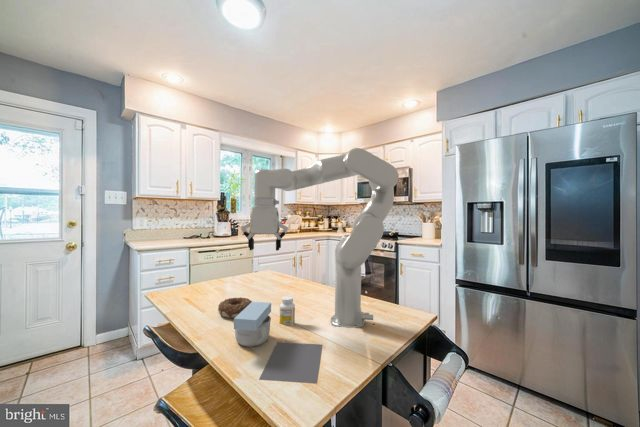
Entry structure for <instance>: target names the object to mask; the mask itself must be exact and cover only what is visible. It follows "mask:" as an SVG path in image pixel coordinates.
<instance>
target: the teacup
mask: <svg viewBox="0 0 640 427" xmlns="http://www.w3.org/2000/svg"><path fill="white" fill-rule="evenodd" d="M271 319H272V317H271V316H270V314H269V315H268V316H267V317H266V319H265V320H264V321H263V323H262V324H261V325H260V326H259V328H258V329H257V330H256V331H252V330H238V329H234V336H235V340H236V342H237V343H238V344H239V345H241V346H243V347H258V346H260V345H262V344H264V343H265V342H266V341H267V340H268V339H269V336H270V330H271Z"/></svg>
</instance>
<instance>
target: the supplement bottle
mask: <svg viewBox="0 0 640 427" xmlns="http://www.w3.org/2000/svg"><path fill="white" fill-rule="evenodd" d="M281 302H282V303H280V304H279V324H280V325H283V326H289V325H290V326H291V325H293V326H294V325H295V324H296V323H295V322H296V321H295V319H296V318H295V313H296V312H295V310H296V307H295V306H296V305H295V303H294V297H293V296H287V295H285V296H282V298H281Z"/></svg>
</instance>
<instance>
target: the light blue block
mask: <svg viewBox="0 0 640 427" xmlns="http://www.w3.org/2000/svg"><path fill="white" fill-rule="evenodd" d="M271 312H272V303H271V302H267V301H266V302H265V301H252V302H251V303H250V304H249V305H248V306H247V307H246V308H245V309H244V310H243V311H242V312H241V313H239V314H238V315H237V316H236V317H235V318H233V330H235V329H238V330H252V331H256V330H257V329H258V328H259V326H260V325H261V324H262V323H263V321H264V320H265V319H266V317H267V316H268V315H269V316H270V313H271Z"/></svg>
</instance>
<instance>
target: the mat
mask: <svg viewBox="0 0 640 427" xmlns="http://www.w3.org/2000/svg"><path fill="white" fill-rule="evenodd" d="M322 351H323V344H321V343H320V344H316V343H301V342H300V343H299V342H283V341H281V342H280V341H278V342H277V341H276V343H275V346H274V348H273V350H272V352H271V353H270V356H269V358H268V360H267V362H266V364H265V366H264V367H263V368H264V369H263V370H262V372H261V375H259V381H260V380H261V381H262V380H263V381H274V382H275V381H276V382H291V383H306V384H318V379H319V371H320V363H321V358H322Z"/></svg>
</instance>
